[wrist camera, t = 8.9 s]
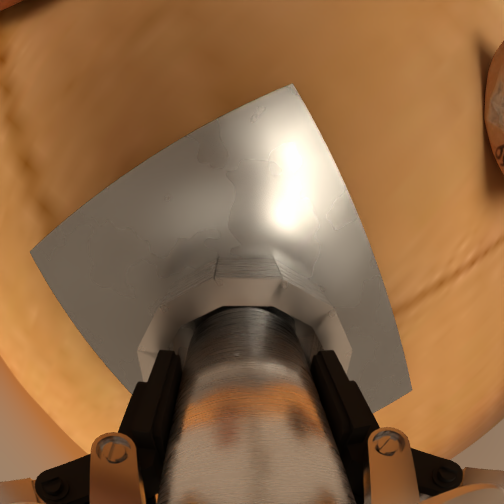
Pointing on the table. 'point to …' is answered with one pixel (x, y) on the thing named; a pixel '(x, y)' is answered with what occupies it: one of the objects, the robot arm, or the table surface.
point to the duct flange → (228, 250)
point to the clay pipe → (496, 106)
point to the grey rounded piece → (250, 420)
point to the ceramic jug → (8, 3)
